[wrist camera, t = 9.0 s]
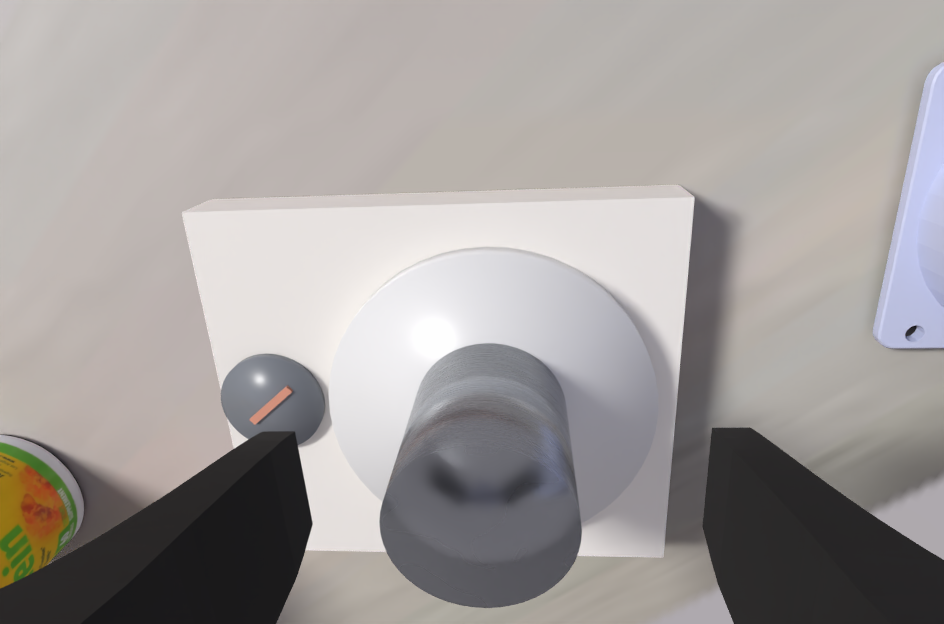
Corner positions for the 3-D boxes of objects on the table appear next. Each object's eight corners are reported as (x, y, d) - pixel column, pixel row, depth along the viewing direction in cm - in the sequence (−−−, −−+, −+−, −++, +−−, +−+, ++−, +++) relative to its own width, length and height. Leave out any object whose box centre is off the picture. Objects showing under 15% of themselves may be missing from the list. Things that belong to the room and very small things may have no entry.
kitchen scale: (678, 184, 18) (702, 203, 15) (652, 520, 22) (668, 575, 20) (211, 199, 19) (166, 218, 17) (275, 514, 24) (246, 566, 21)
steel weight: (564, 339, 17) (580, 443, 12) (568, 472, 19) (583, 608, 14) (407, 346, 18) (366, 448, 13) (424, 475, 19) (393, 608, 15)
